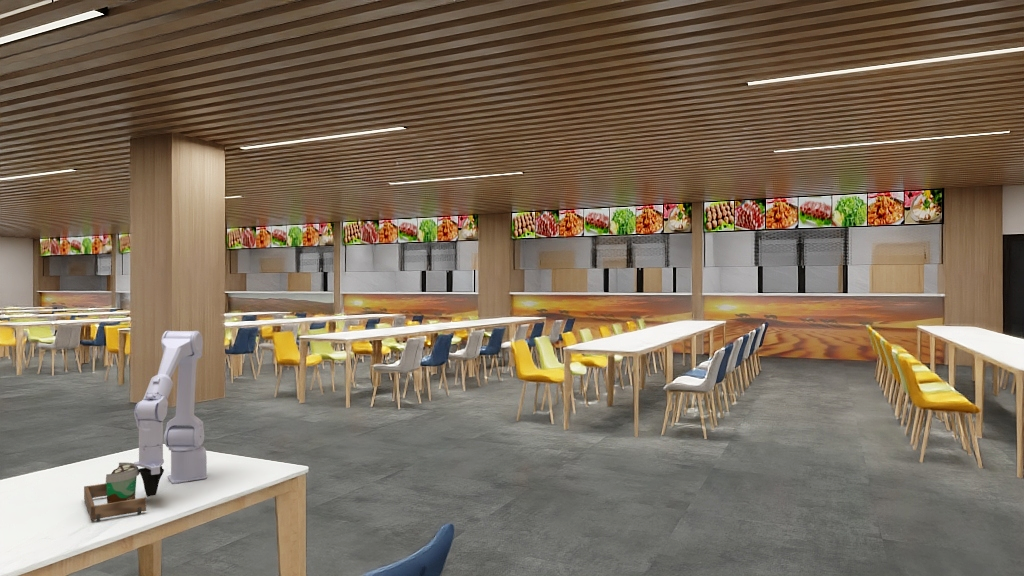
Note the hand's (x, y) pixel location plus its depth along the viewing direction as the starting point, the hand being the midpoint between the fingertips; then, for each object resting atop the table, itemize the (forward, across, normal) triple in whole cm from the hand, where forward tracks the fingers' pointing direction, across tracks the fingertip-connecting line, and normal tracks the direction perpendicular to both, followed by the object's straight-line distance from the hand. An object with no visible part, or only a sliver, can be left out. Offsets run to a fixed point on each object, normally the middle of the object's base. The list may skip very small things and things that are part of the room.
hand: (151, 495), depth 188 cm
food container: (+2, 0, -6) cm, 6 cm away
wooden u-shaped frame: (+2, 0, -8) cm, 9 cm away
